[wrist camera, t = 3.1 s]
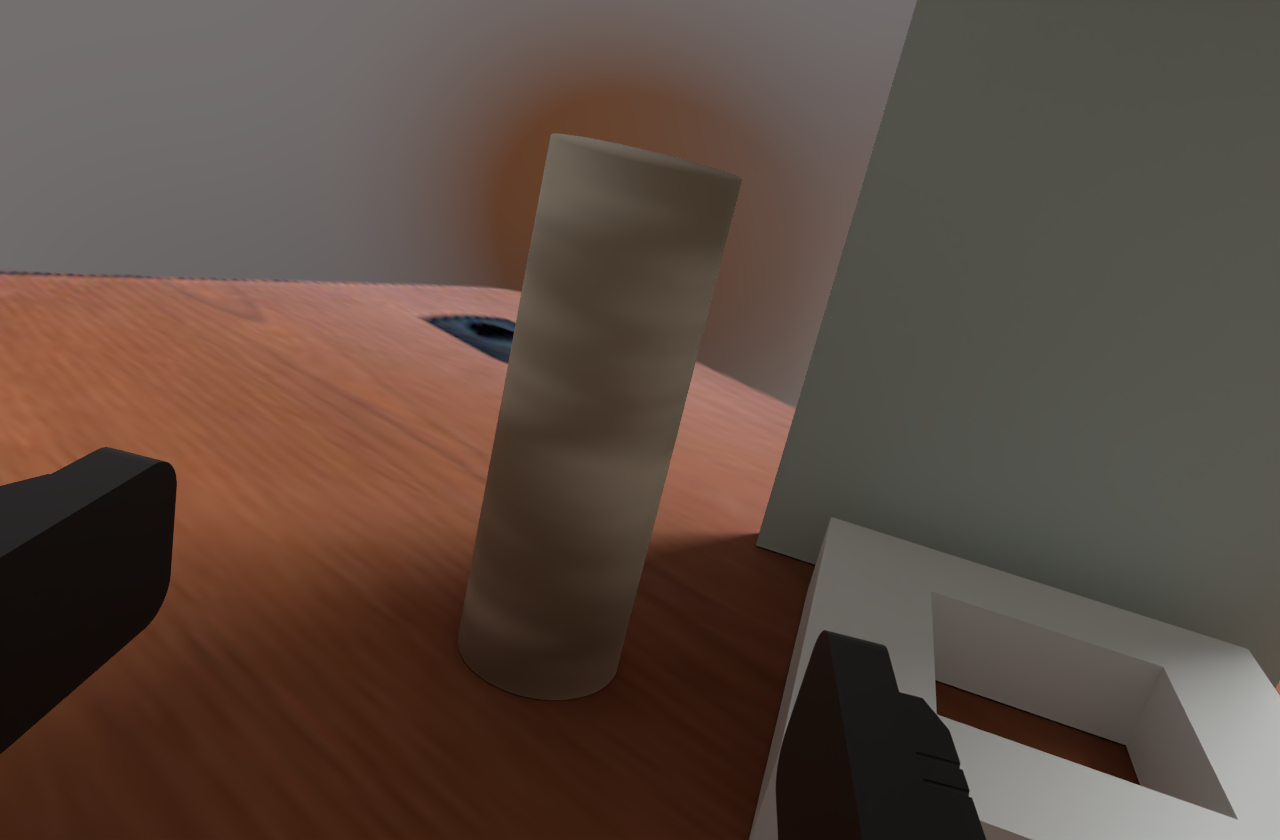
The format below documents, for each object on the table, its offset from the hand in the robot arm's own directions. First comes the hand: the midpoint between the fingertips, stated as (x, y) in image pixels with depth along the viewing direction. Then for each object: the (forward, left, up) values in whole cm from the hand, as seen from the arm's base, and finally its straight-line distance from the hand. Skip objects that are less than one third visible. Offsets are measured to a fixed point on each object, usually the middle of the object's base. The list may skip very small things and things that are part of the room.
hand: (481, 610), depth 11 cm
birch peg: (-2, +10, -7) cm, 12 cm away
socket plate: (+10, +12, -7) cm, 17 cm away
